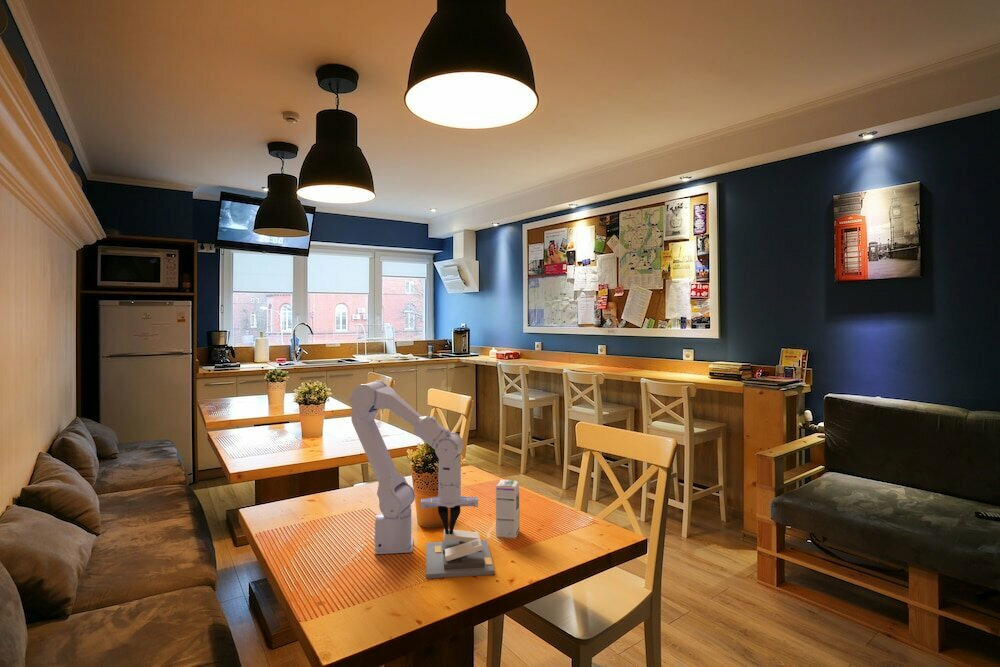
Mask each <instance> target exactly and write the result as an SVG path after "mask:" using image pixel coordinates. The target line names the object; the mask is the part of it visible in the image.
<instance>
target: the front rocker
mask: <svg viewBox="0 0 1000 667" xmlns="http://www.w3.org/2000/svg"><path fill="white" fill-rule="evenodd" d="M481 540H482V539H481V538H479V539H476V540H473V541H470V542H467V543H463V544H460V545H457V546H454V547H451V548H447V549H445V558H446V561H450V560H453V559H456V558H459V557H462V556H466V555H469V554H472V553H475V552H478V551H481V550H483V547H482V543H481Z"/></svg>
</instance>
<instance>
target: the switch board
mask: <svg viewBox="0 0 1000 667" xmlns="http://www.w3.org/2000/svg"><path fill="white" fill-rule="evenodd" d="M463 543H467V542H462V541H452V540H444V539H443V540H442V541H437V542H436V541H434V542H426V545H425V546H426V548H425V551H426V552H425V553H426V555H425V579H426V580H427V579H440V578H442V579H443V577H444V578H458V577H472V576H473V577H474V576H475V577H476V576H491V575H492V574H496V573H495V572H496V570H495V567H494V562H493V559H492V554H491V551H490V547H489V544H488V540H487V539H481V543H482V547H483V550H481V551H478V552H475V553H472V554H469V555H466V556H462V557H459V558H456V559H453V560H450V561H446V558H445V549H447V548H451V547H454V546H457V545H460V544H463ZM492 576H493V575H492Z"/></svg>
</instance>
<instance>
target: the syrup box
mask: <svg viewBox="0 0 1000 667" xmlns="http://www.w3.org/2000/svg"><path fill="white" fill-rule="evenodd" d="M520 528H521V527H520V481H519V480H516V479H500V480H498V483H497V484H496V485H495V536H496V537H497V538H503V537H506V539H517V537H518V534H519V531H520V530H521V529H520Z"/></svg>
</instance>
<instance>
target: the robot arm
mask: <svg viewBox="0 0 1000 667" xmlns="http://www.w3.org/2000/svg"><path fill="white" fill-rule="evenodd" d="M348 400H349V402H350V404H351V424H352V426H353V428H354V430H355V433H356V434H357V436H358V439H359V441H360V443H361V446H362V448H363V450H364V453H365V455H366V458H367V460H368V462H369V464H370V467H371V469H372V472H373V473H374V476H375V478H376V480H377V482H378V486H377V492H376V494H377V497H378V503H379V504H378V508H379V511H380V512H381V513H378V514H376V515H375V519H374V539H373V540H374V542H373V544H374V554H375V555H385V554H387V555H388V554H389V555H390V554H402V553H413V548H414V538H413V537H412V508H411V507H412V506H411V505H412V504H414V501H415V498H416V493H415V490H414V488H413V487H412V485H410V484H409V483H408V482H407V480H406V478H405V476H403V475H402V474H399V473H398V471H397V469H396V468H397V467H396V466H395V464H394V461H393V458H392V457H391V454H390V452H389V450H388V448H387V445H386V443H385V441H384V438H383V436H382V434H381V432H380V429H379V428H378V425H377V423H376V421H375V418H376V416H377V414H378V412H379V410H381V409H382V410H390V411H391V412H393V413H394V414H395V415H396V416H398V417H400V418H401V419H403V421H405V422H407V423H408V424H410V425H411V426H412V427H413V431H414V432H413V433H414V435H416V436H417V437H418V438H420V439H421V440H422V441H423V442H425V443H426V444H428V445H429V446H430V448H432V449H433V450H434V452H435V455H436V457H437V458H438V473H437V474H438V475H437V476H438V477H437V478H438V483H437V485H438V488H437V490H438V491H437V492H438V493H437V496H436V497H434V496H433V497H428V498H421V499H420V510H425V509H432V508H433V509H435V508H437V513H438V515H439V517H440V519H441V521H442V526H443V527H444V529H445V533H446V534H449V532H450V534H453V530H455V526H456V523H457V520H458V518H459V515H460V514H461V507H462V508H463V507H464V508H465V507H474V508H478V507H479V497H478V496H476V497H475V496H465V495H464V496H463V495H462V494H461V493H462V491H461V490H462V488H461V487H462V463H461V461H462V460H461V458H462V455H461V453H462V451H463V450H464V445H465V444H464V440H463V438H462V437H461V436H460V434H459V433H457V432H452V431H451V429H448V428H447V429H446V428H445V427H444V426H443V425H441V424H440V423H439V422H438V421H437V418H436V417H435V416H429V415H424V416H423V415H421V414H420V413H419V412H418V410H417V411H416V410H415V409H414V408H413V406H411V405H410V404H409V403H408V402H407V401H406V400H404V398H402V397H401V396H399V395H398V393H397V392H396V391H395V390H394V388H393V387H391V386H389V385H388V384H386V383H385V382H384V381H383V380H379V379H378V380H374V381H371V382H368V383H363V384H362V383H361V384H359V385H357V386H355V388H353V390H352V393H351V395H350V397H349V399H348ZM448 529H449V532H448Z"/></svg>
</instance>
